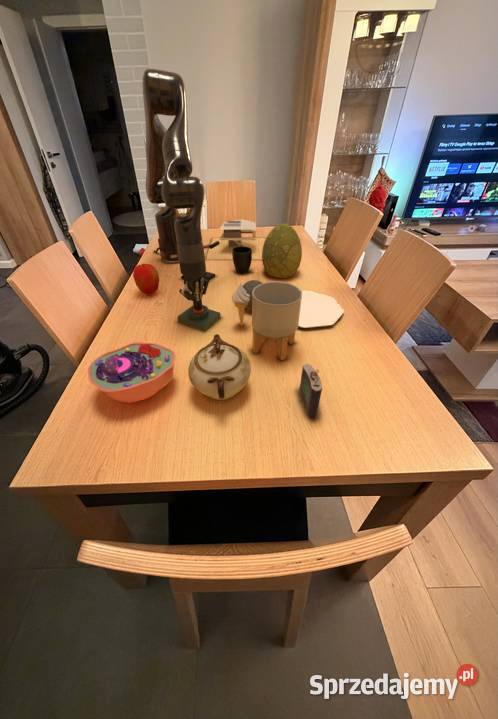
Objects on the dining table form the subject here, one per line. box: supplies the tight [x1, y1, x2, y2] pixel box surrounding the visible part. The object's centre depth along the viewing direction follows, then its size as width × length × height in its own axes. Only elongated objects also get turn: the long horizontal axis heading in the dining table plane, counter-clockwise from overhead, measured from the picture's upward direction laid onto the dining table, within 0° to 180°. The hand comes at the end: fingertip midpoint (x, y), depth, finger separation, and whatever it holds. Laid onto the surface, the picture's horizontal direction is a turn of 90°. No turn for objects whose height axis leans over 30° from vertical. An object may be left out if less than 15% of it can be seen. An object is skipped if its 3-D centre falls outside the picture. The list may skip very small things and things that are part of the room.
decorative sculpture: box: [261, 223, 303, 279], centre depth 122 cm, size 16×16×20 cm
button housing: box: [177, 304, 222, 332], centre depth 99 cm, size 11×9×4 cm
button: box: [193, 307, 204, 313], centre depth 98 cm, size 4×4×2 cm
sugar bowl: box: [187, 333, 252, 401], centre depth 71 cm, size 20×15×15 cm
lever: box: [203, 241, 220, 250], centre depth 115 cm, size 12×5×2 cm, turn 60°
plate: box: [298, 290, 345, 329], centre depth 104 cm, size 24×24×2 cm
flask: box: [298, 363, 323, 419], centre depth 68 cm, size 9×3×11 cm, turn 8°
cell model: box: [87, 341, 176, 404], centre depth 72 cm, size 17×20×11 cm
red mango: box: [132, 262, 160, 296], centre depth 111 cm, size 9×9×12 cm
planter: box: [251, 281, 302, 361], centre depth 83 cm, size 13×13×18 cm
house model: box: [205, 218, 267, 260], centre depth 147 cm, size 29×30×12 cm
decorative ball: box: [242, 279, 263, 310], centre depth 103 cm, size 10×10×10 cm
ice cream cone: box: [231, 283, 250, 327], centre depth 93 cm, size 6×6×15 cm
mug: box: [232, 245, 253, 275], centre depth 128 cm, size 8×12×10 cm
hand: (198, 309), depth 97 cm, fingers closed
